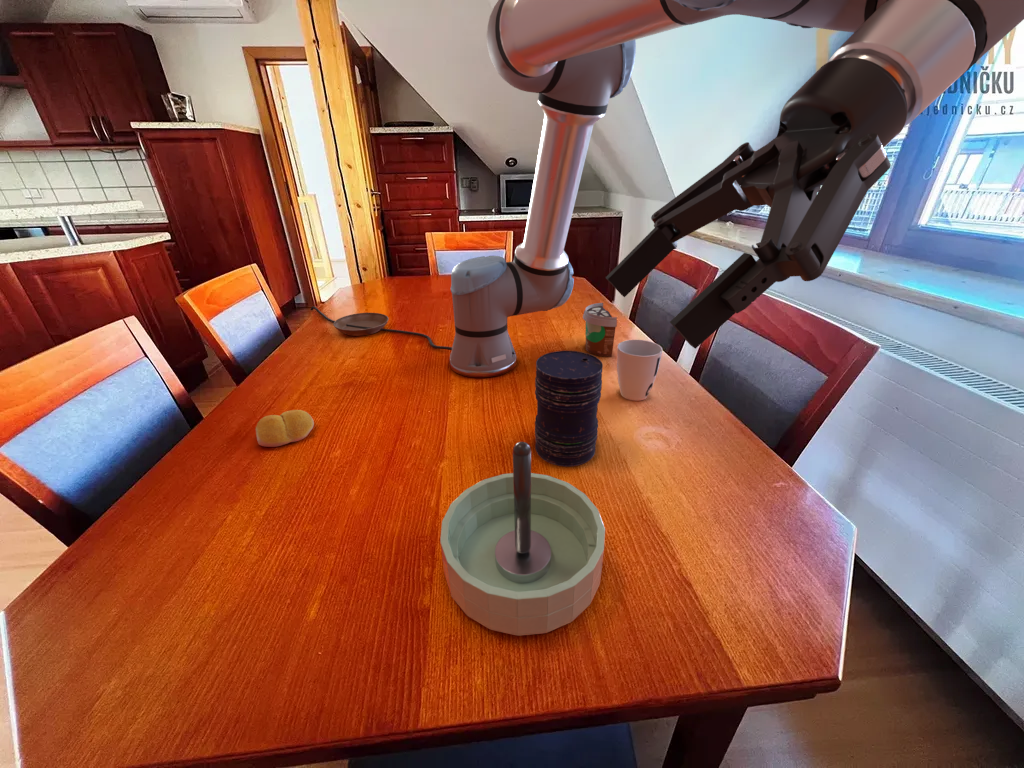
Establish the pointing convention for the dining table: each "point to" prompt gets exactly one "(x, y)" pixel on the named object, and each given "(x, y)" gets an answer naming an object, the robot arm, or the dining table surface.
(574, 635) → the dining table surface
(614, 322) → the food container
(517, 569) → the peg on round base
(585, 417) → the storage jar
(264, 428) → the bread roll
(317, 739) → the dining table surface
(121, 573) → the dining table surface
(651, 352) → the cup
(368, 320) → the saucer
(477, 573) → the bowl
